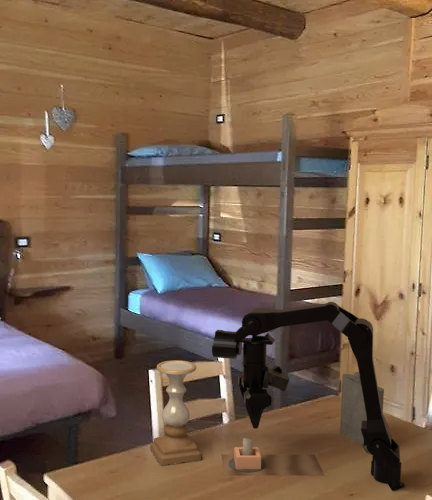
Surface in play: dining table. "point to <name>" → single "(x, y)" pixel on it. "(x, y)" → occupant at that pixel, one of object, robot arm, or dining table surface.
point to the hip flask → (354, 407)
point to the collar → (247, 459)
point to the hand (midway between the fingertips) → (253, 421)
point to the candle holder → (175, 418)
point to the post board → (273, 463)
